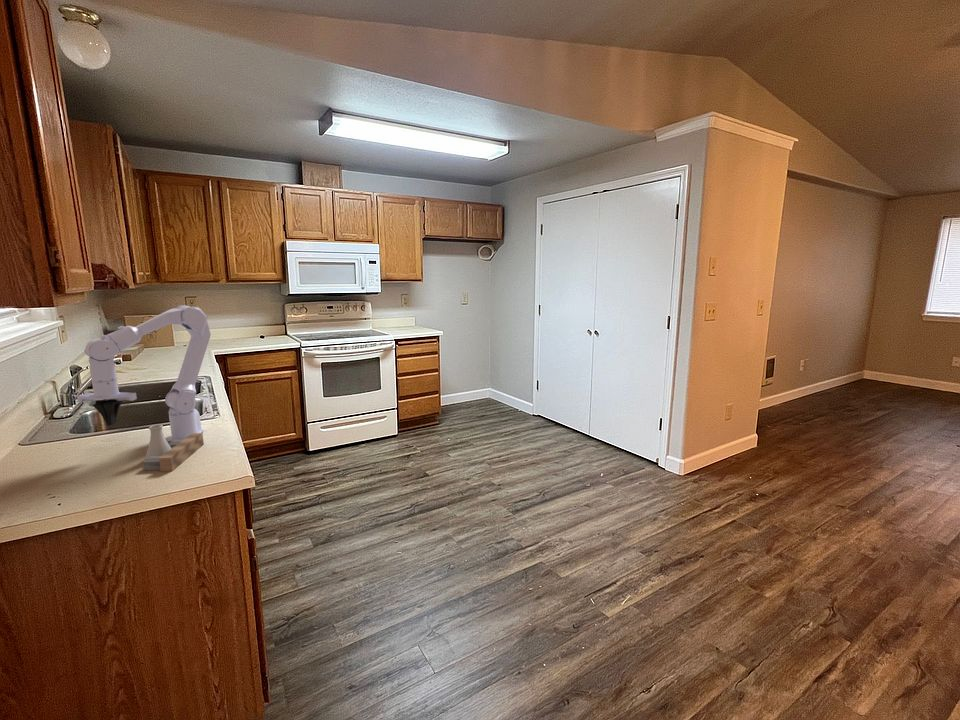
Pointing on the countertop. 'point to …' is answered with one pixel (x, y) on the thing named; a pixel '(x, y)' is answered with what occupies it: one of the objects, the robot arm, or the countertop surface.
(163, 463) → the spice rail
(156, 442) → the flask
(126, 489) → the countertop surface
